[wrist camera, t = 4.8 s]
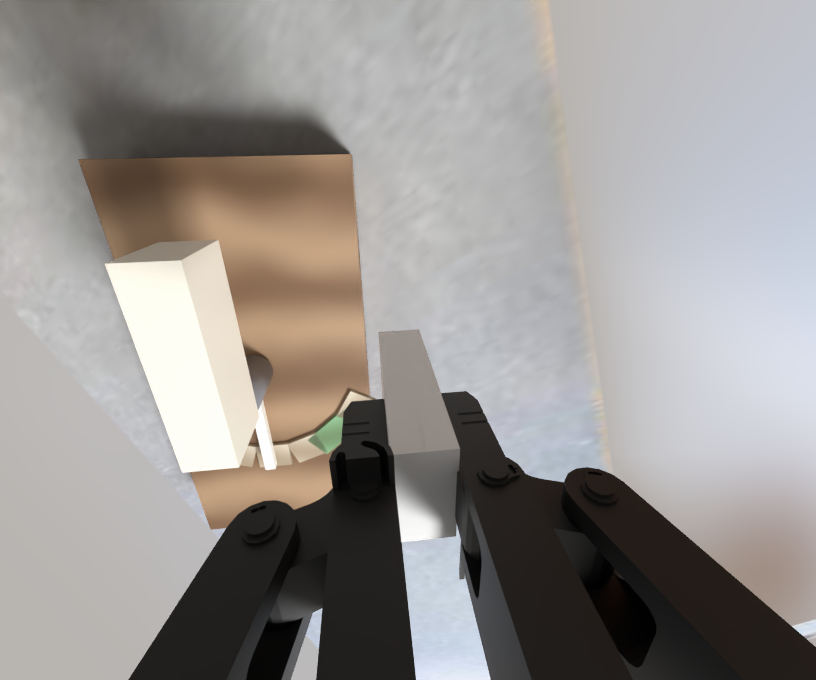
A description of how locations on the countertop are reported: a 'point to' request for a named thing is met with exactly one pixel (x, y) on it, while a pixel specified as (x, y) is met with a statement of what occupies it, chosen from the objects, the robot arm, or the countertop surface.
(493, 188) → the countertop surface
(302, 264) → the board
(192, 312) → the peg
